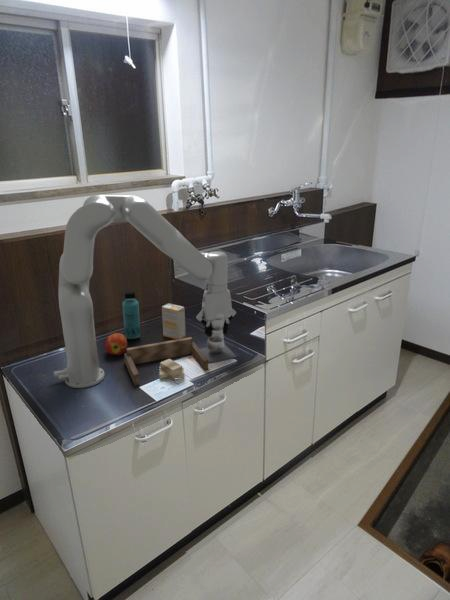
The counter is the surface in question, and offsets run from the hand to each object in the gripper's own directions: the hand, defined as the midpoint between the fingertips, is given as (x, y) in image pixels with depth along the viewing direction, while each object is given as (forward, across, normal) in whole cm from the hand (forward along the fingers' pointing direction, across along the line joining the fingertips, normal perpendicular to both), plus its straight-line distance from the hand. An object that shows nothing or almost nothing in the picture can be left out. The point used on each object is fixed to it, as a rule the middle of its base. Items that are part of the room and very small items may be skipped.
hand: (216, 333), depth 154 cm
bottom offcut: (+9, -20, -9) cm, 23 cm away
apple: (+9, -34, +15) cm, 38 cm away
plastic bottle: (+7, 0, 0) cm, 7 cm away
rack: (+9, -20, -2) cm, 22 cm away
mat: (+8, 0, 0) cm, 8 cm away
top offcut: (+7, -20, -9) cm, 23 cm away
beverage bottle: (+9, -26, +25) cm, 37 cm away
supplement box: (+9, -10, +21) cm, 25 cm away
